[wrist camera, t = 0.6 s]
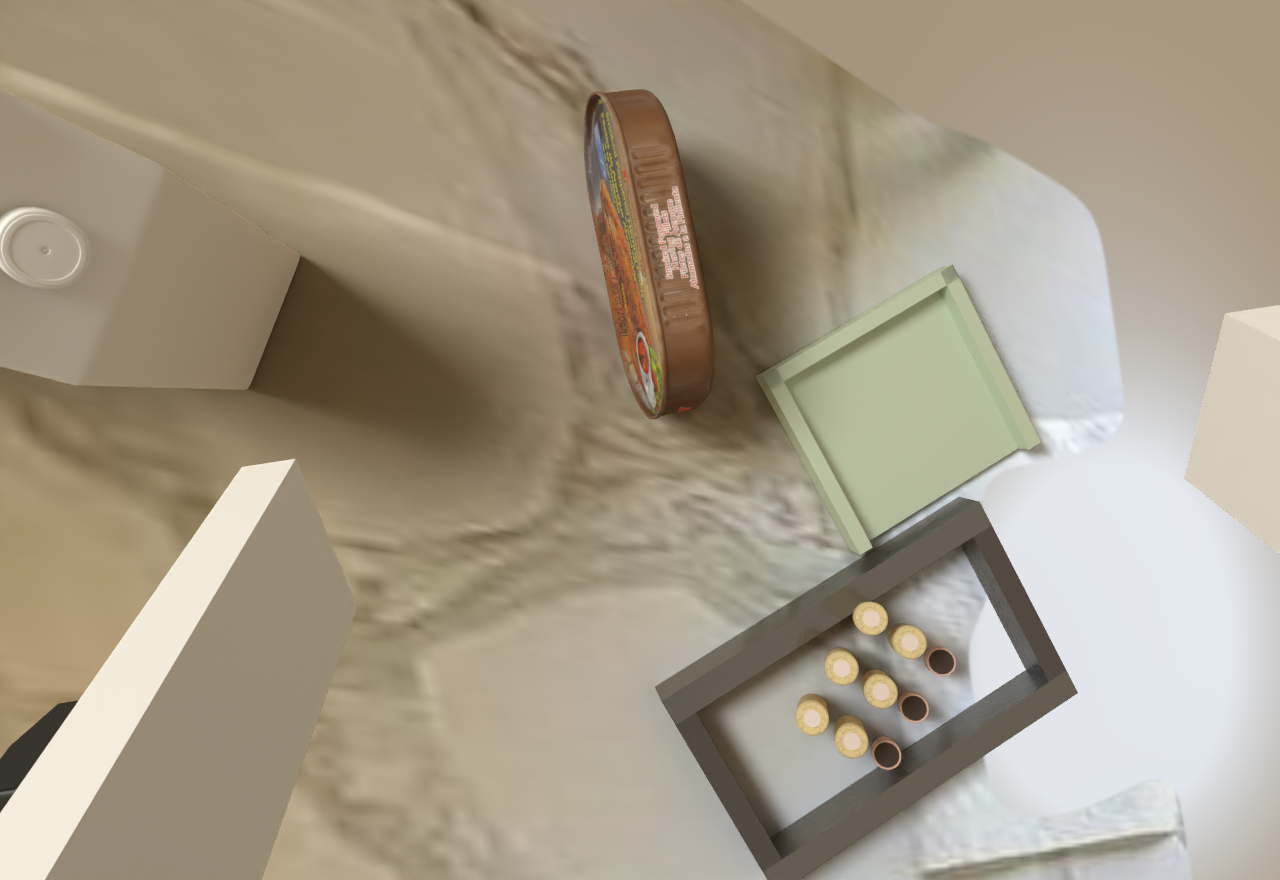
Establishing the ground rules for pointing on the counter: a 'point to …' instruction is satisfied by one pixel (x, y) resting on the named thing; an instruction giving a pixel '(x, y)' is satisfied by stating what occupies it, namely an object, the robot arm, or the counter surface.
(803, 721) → the ammunition
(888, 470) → the tray pad
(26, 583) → the counter surface
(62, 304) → the milk carton
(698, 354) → the tin
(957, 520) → the gray rectangular frame
